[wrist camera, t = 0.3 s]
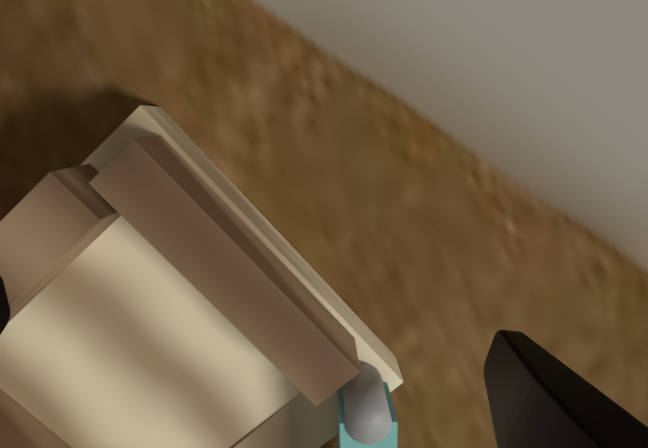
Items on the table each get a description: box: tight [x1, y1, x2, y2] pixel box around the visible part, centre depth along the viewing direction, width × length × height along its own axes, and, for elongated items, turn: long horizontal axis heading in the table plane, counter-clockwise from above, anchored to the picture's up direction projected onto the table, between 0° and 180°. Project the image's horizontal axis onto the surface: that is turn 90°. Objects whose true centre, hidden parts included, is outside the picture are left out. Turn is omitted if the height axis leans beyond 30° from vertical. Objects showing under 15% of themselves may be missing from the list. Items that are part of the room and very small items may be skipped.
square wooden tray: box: [0, 105, 403, 448], centre depth 22 cm, size 18×18×6 cm
